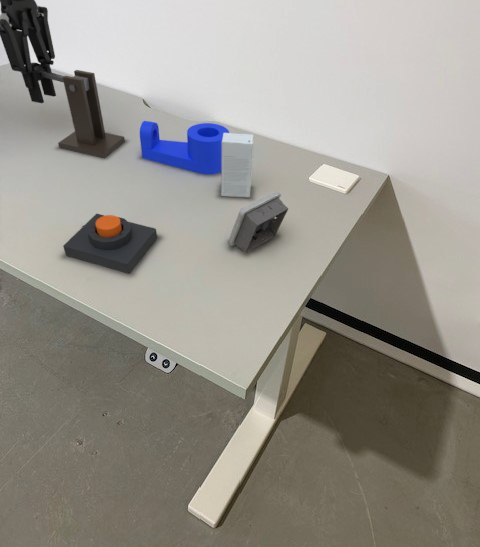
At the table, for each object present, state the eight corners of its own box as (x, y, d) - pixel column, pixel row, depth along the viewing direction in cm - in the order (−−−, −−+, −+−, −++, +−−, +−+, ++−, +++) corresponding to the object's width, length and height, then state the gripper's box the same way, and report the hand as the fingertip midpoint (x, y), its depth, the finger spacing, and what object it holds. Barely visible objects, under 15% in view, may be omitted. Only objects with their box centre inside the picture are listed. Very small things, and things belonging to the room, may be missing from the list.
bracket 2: (232, 158, 98) (233, 126, 93) (221, 177, 92) (222, 144, 86) (154, 144, 101) (151, 113, 96) (138, 162, 94) (134, 129, 89)
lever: (25, 80, 92) (21, 63, 89) (36, 75, 94) (32, 58, 92) (82, 96, 90) (80, 79, 87) (92, 91, 92) (89, 74, 90)
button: (92, 234, 70) (90, 226, 68) (105, 221, 72) (103, 212, 71) (113, 240, 69) (112, 231, 68) (126, 226, 72) (124, 218, 70)
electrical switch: (263, 225, 80) (271, 184, 73) (282, 240, 78) (293, 200, 71) (227, 245, 75) (232, 204, 68) (246, 262, 73) (254, 221, 66)
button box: (65, 255, 71) (60, 237, 68) (98, 223, 78) (94, 204, 75) (129, 273, 68) (126, 255, 66) (157, 238, 75) (155, 220, 73)
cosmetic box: (250, 187, 89) (254, 133, 81) (249, 198, 86) (254, 143, 78) (221, 185, 89) (223, 131, 81) (220, 196, 86) (221, 141, 78)
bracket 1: (59, 147, 97) (40, 76, 87) (81, 132, 104) (67, 64, 93) (104, 158, 95) (91, 86, 84) (125, 141, 101) (114, 72, 91)
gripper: (-6, -18, 73) (33, 115, 89) (54, -31, 84) (79, 88, 100) (-41, -23, 74) (4, 109, 90) (23, -35, 86) (53, 83, 102)
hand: (44, 98), depth 95 cm, fingers closed on lever, 4 cm apart
